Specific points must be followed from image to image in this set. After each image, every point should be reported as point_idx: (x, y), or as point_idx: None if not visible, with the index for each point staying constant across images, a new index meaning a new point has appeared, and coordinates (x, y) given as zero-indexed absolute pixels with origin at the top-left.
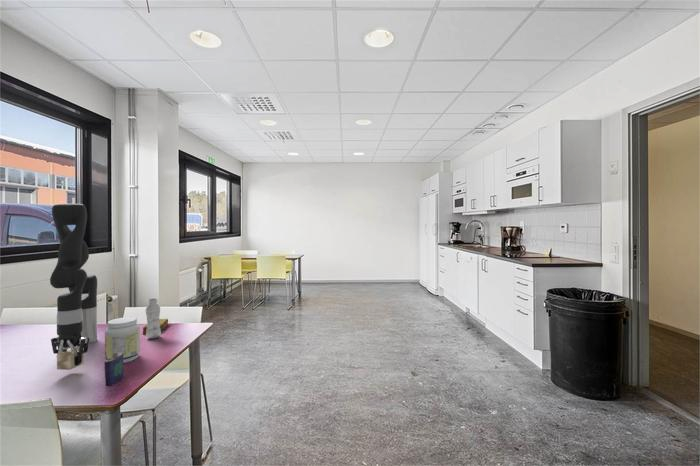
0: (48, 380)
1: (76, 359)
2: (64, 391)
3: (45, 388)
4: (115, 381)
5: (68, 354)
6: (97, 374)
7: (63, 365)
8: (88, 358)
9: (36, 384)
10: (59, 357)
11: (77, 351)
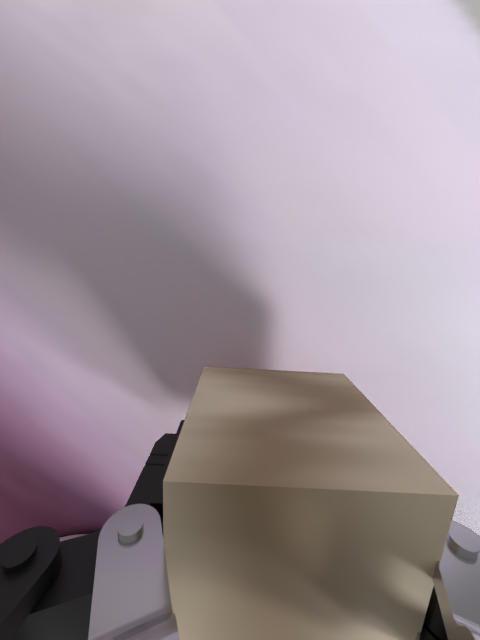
0: (335, 293)
1: (163, 469)
2: (19, 98)
3: (233, 153)
4: None
5: (238, 518)
6: (52, 391)
7: (282, 390)
8: None
9: (371, 224)
10: (372, 455)
11: (197, 630)
